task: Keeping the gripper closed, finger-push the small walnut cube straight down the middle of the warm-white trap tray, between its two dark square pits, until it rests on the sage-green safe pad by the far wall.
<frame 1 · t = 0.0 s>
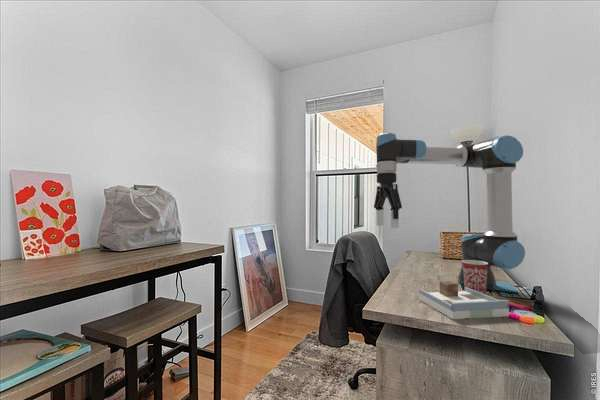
hand: (386, 226, 116), 28 cm above the table, fingers open, 13 cm apart
trap tray: (460, 307, 104), on the table
mug: (474, 294, 119), on the table
walnut cube: (448, 294, 111), point 2 cm above the table, touching trap tray
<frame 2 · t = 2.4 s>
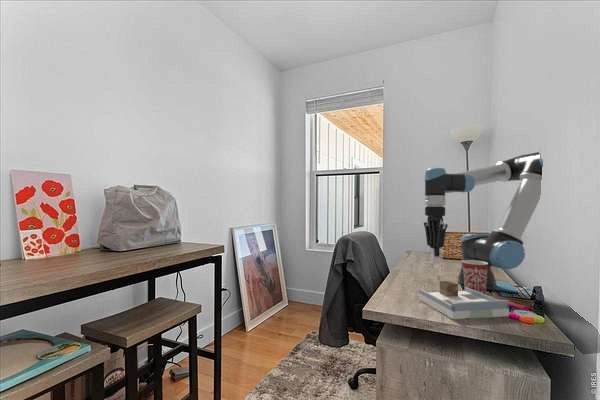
hand: (435, 264, 119), 12 cm above the table, fingers closed
nothing on the table moved.
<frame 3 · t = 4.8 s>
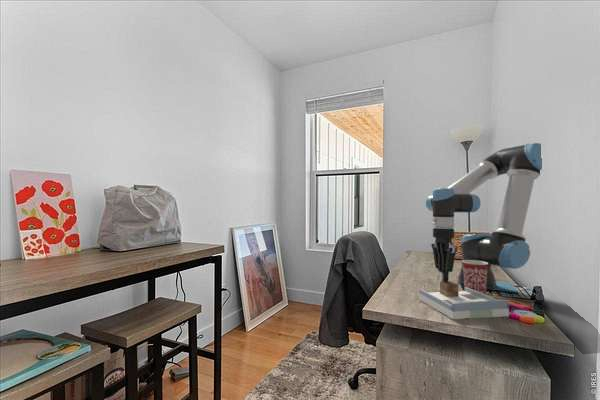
hand: (443, 288, 113), 4 cm above the table, fingers closed
walnut cube: (449, 294, 111), point 3 cm above the table, touching gripper
everything else where it was.
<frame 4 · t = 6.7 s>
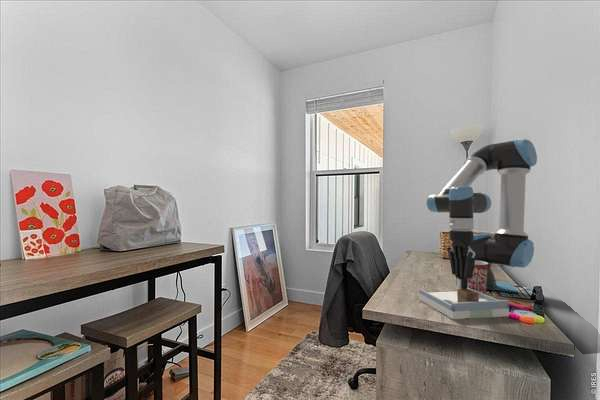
hand: (461, 296, 103), 4 cm above the table, fingers closed
walnut cube: (467, 303, 100), point 2 cm above the table, touching gripper
everything else where it was.
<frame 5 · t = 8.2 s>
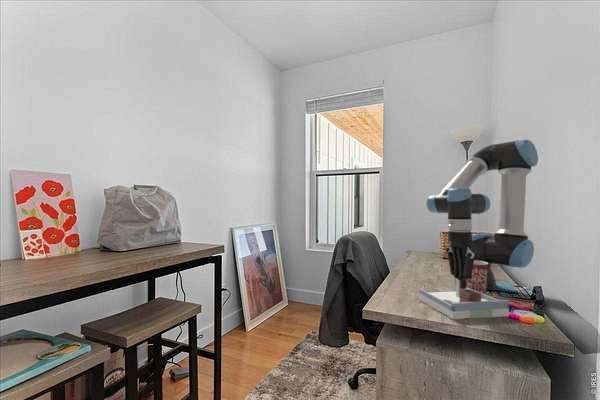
hand: (461, 296, 105), 4 cm above the table, fingers closed
walnut cube: (470, 305, 99), point 2 cm above the table, touching trap tray
everything else where it was.
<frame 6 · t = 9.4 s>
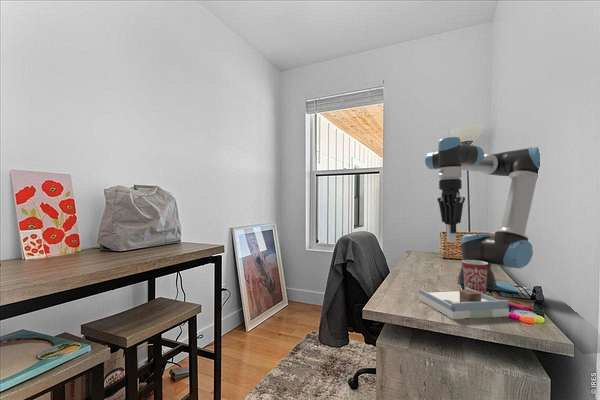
hand: (451, 241, 110), 23 cm above the table, fingers closed
nothing on the table moved.
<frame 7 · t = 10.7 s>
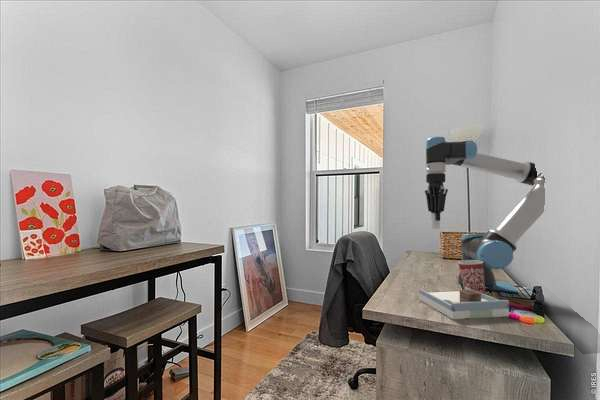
hand: (436, 228, 126), 27 cm above the table, fingers closed
mug: (474, 294, 119), on the table, touching arm
everything else where it was.
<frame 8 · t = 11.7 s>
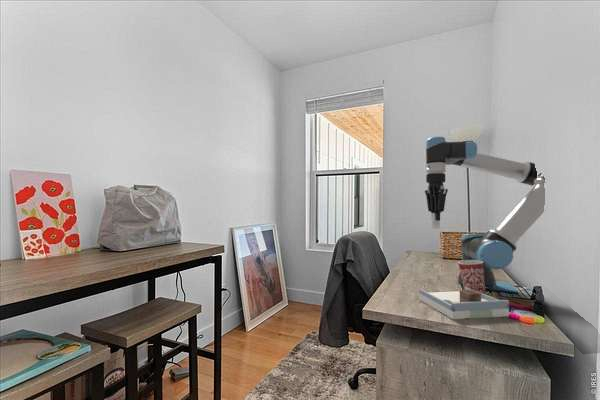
hand: (435, 228, 126), 27 cm above the table, fingers closed
nothing on the table moved.
at the end: walnut cube inside the target area on the trap tray (0.2 cm from its centre), point 2.4 cm above the trap tray's base; walnut cube tilted 0° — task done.
